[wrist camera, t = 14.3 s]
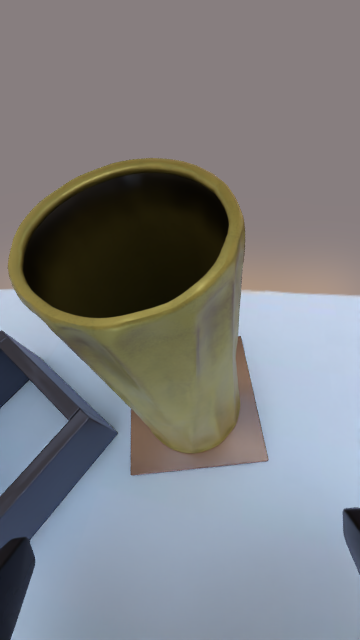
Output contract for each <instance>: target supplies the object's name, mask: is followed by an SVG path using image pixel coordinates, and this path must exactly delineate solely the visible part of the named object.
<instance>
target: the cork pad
mask: <svg viewBox="0 0 360 640" xmlns="http://www.w3.org/2000/svg"><path fill="white" fill-rule="evenodd" d="M236 366H237V376H238V389H239V396H240V411H239V416H238V420H237V423H236V425H235V427H234V428H233V430H232V431H231V432H230V433H229V435H228V436H227V437H226V438H225V440H224V441H222V442H221V443H220V444H219V445H217V446H216V447H214V448H212V449H209V450H207V451H204V452H200V453H184V452H179V451H176V450H173V449H171V448H169V447H168V446H166V445H165V444H163V443H162V442H161V441H160V440H159V439H157V438H156V437H155V436H154V434H153V433H152V432H151V429H150V428H149V427H148V426H147V425H146V424H145V423H144V422H143V421H142V419H141V418H140V417H139V416H138V415H137V414H136V413H135V412H134V411H133V410H132V409H131V475H142V474H152V473H161V472H170V471H180V470H189V469H199V468H208V467H217V466H227V465H236V464H246V463H255V462H264V461H268V455H267V451H266V446H265V442H264V438H263V433H262V429H261V424H260V420H259V415H258V411H257V406H256V402H255V398H254V393H253V389H252V384H251V380H250V375H249V371H248V366H247V362H246V358H245V353H244V349H243V344H242V340H241V336H239V337H238V341H237V348H236Z"/></svg>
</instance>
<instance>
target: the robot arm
mask: <svg viewBox="0 0 360 640" xmlns="http://www.w3.org/2000/svg"><path fill="white" fill-rule="evenodd" d="M343 532H344V537H345V541H346V544H347V546H348V548H349V551H350V553H351V555H352V558H353V560H354V563H355V565H356V567H357V570H358V572H359V574H360V508H345V509H344V510H343ZM34 566H35V556H34V553H33V550H32V547H31V544H30V541H29V539H28V538H27V537H15V538H12V539H11V540H10V541H8V542H7V543H6V544H5V545H4V546H3V547H2V548H1V549H0V640H10V639H11V636H12V633H13V631H14V628H15V625H16V622H17V619H18V616H19V613H20V610H21V607H22V604H23V600H24V597H25V594H26V591H27V588H28V585H29V582H30V579H31V576H32V573H33V570H34Z"/></svg>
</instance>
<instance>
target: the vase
mask: <svg viewBox="0 0 360 640" xmlns="http://www.w3.org/2000/svg"><path fill="white" fill-rule="evenodd" d="M244 250H245V226H244V219H243V215H242V212H241V209H240V207H239V204H238V202H237V200H236V198H235V196H234V195H233V193H232V192H231V190H230V189H229V187H228V186H227V185H226V184H225V183H224V182H223V181H222V180H220V179H219V178H218V177H216V176H215V175H214V174H212V173H210V172H208V171H206V170H204V169H202V168H200V167H198V166H196V165H193V164H190V163H187V162H184V161H178V160H172V159H161V158H160V159H159V158H146V159H133V160H126V161H121V162H117V163H113V164H110V165H107V166H104V167H101V168H98V169H96V170H93V171H91V172H88V173H85V174H83V175H80V176H78V177H76V178H75V179H73V180H71V181H69V182H68V183H66V184H65V185H63V186H62V187H61V188H59V189H57V190H56V191H54V192H53V193H51V194H50V195H48V196H47V197H46V198H44V199H43V200H42V201H41V202H39V203H38V204H37V205H36V206H35V207H34V208H33V209H32V210H31V212H30V213H29V214H28V215H27V216H26V217H25V219H24V220H23V222H22V223H21V224H20V226H19V228H18V230H17V232H16V235H15V237H14V239H13V243H12V247H11V251H10V255H9V260H8V271H9V277H10V280H11V283H12V286H13V288H14V290H15V291H16V293H17V295H18V297H19V298H20V300H21V301H22V302H23V304H24V305H25V306H27V307H28V308H29V309H30V310H31V311H32V312H33V313H35V314H36V315H37V316H38V317H40V318H41V319H42V320H43V321H44V322H45V323H46V324H47V325H48V327H49V328H50V329H51V330H52V331H53V332H54V333H55V334H56V335H57V336H58V337H59V338H60V339H61V340H63V341H64V342H65V343H66V344H67V345H68V346H69V347H70V348H71V349H72V350H73V351H74V352H75V353H76V354H77V356H79V357H80V358H81V359H82V360H83V361H84V362H85V363H86V364H87V365H88V366H89V367H90V368H91V369H92V370H93V371H94V372H95V373H96V374H97V375H98V376H99V377H100V378H101V379H102V380H103V381H104V382H105V383H106V384H107V385H108V386H109V387H110V388H111V389H112V390H113V391H114V392H115V393H116V394H117V395H118V396H119V397H120V398H121V399H122V400H123V401H124V402H125V403H126V404H127V405H128V406H129V407H130V408H131V409H132V410H133V411H134V412H135V413H136V414H137V415H138V416H139V417H140V418H141V419H142V421H143V422H144V423H145V424H146V425H147V426H148V427H149V428H150V429H151V432H152V433H153V434H154V436H155V437H156V438H157V439H159V440H160V441H161V442H162V443H163V444H165V445H166V446H168V447H169V448H171V449H173V450H176V451H179V452H184V453H200V452H204V451H207V450H209V449H212V448H214V447H216V446H217V445H219V444H220V443H221V442H222V441H224V440H225V438H226V437H227V436H228V435H229V433H230V432H231V431H232V430H233V428H234V427H235V425H236V423H237V420H238V416H239V411H240V396H239V389H238V376H237V366H236V348H237V341H238V327H239V310H240V298H241V283H242V268H243V262H244V252H245V251H244Z"/></svg>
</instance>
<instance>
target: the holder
mask: <svg viewBox="0 0 360 640" xmlns="http://www.w3.org/2000/svg"><path fill="white" fill-rule="evenodd" d="M29 379H30V380H31V381H32V382H33V383H34V385H35V386H36V387H37V388H38V389H39V390H40V391H41V392H42V393H43V394H44V395H45V396H46V397H47V398H48V399H49V400H50V401H51V402H52V403H53V404H54V405H55V407H56V408H57V409H58V410H59V411H60V412H61V413H62V414H63V415H64V416H65V417H66V418H67V419H68V420H69V422H68V423H67V424H66V425H65V426H64V427H63V428H62V429H61V431H60V432H59V433H58V434H57V435H56V436H55V437H54V438H53V439H52V440H51V441H50V443H49V444H48V445H47V446H46V447H45V448H44V449H43V450H42V451H41V452H40V454H39V455H38V456H37V457H36V458H35V459H34V460H33V461H32V462H31V463H30V465H29V466H28V467H27V468H26V469H25V470H24V471H23V472H22V473H21V474H20V476H19V477H18V478H17V479H16V480H15V481H14V482H13V483H12V484H11V485H10V486H9V488H8V489H7V490H6V491H5V492H4V493H3V494H2V495H1V496H0V549H1V548H2V547H3V546H4V545H5V544H6V543H7V542H8V541H10V540H11V539H12V538H15V537H27V538H28V539H29V540H30V539H31V537H32V536H33V535H34V534H35V533H36V531H37V530H38V529H39V528H40V526H41V525H42V524H43V523H44V522H45V520H46V519H47V518H48V517H49V516H50V514H51V513H52V512H53V511H54V510H55V508H56V507H57V506H58V505H59V504H60V502H61V501H62V500H63V499H64V498H65V496H66V495H67V494H68V493H69V492H70V490H71V489H72V488H73V487H74V485H75V484H76V483H77V482H78V481H79V479H80V478H81V477H82V476H83V475H84V473H85V472H86V471H87V470H88V469H89V467H90V466H91V465H92V464H93V463H94V461H95V460H96V459H97V458H98V457H99V455H100V454H101V453H102V452H103V451H104V449H105V448H106V447H107V446H108V444H109V443H110V442H111V441H112V440H113V438H114V437H115V436H116V435H117V431H116V430H115V429H114V428H113V427H111V426H110V425H109V424H108V423H107V422H106V421H105V420H104V419H103V418H102V417H101V416H100V415H99V414H98V413H97V412H96V411H95V410H94V409H93V408H92V407H91V406H90V405H89V404H88V403H87V402H85V401H84V400H83V399H82V398H81V397H80V396H79V395H78V394H77V393H76V392H75V391H74V390H73V389H72V388H71V387H70V386H69V385H68V384H67V383H66V382H65V381H64V380H63V379H62V378H61V377H60V376H58V375H57V374H56V373H55V372H54V371H53V370H52V369H51V368H50V367H49V366H48V365H47V364H46V363H45V362H44V361H43V360H42V359H41V358H40V357H38V356H37V355H35V354H34V353H33V352H31V351H30V350H28V349H27V348H26V347H24V346H23V345H21V344H20V343H19V342H17V341H16V340H14V339H13V338H12V337H10V336H9V335H7V334H6V333H5V332H3V331H0V407H1V406H2V405H3V404H4V403H5V402H6V401H7V400H9V399H10V398H11V397H12V396H13V395H14V394H15V393H16V392H17V391H18V390H19V389H20V388H21V387H22V386H23V385H24V384H25V383H26V382H27V381H28V380H29Z"/></svg>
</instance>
